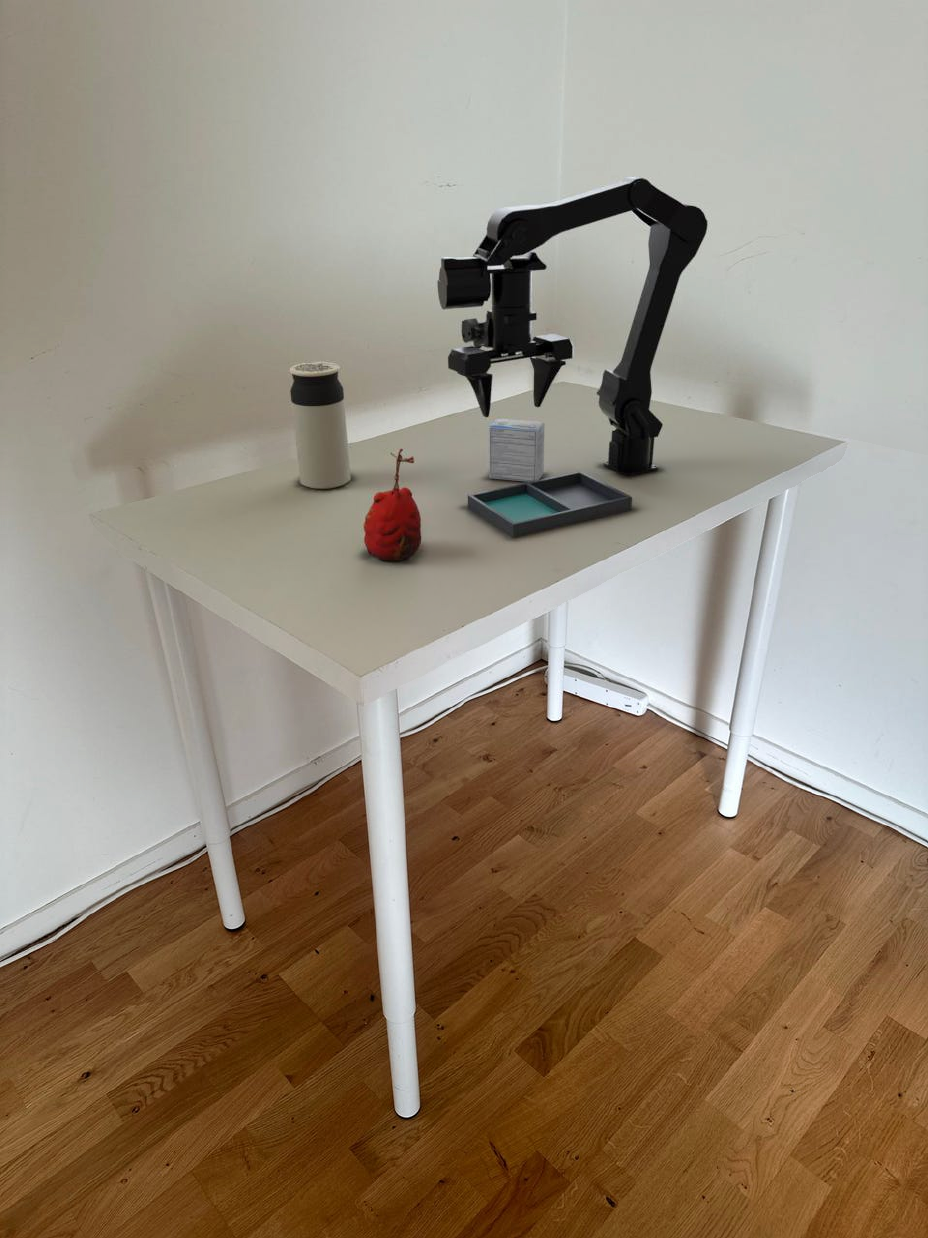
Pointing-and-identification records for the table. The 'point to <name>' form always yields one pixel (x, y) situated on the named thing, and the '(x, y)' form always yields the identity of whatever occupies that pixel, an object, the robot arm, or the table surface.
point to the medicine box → (516, 450)
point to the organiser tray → (548, 503)
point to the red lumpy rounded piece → (393, 522)
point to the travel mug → (320, 425)
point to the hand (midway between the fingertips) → (511, 411)
